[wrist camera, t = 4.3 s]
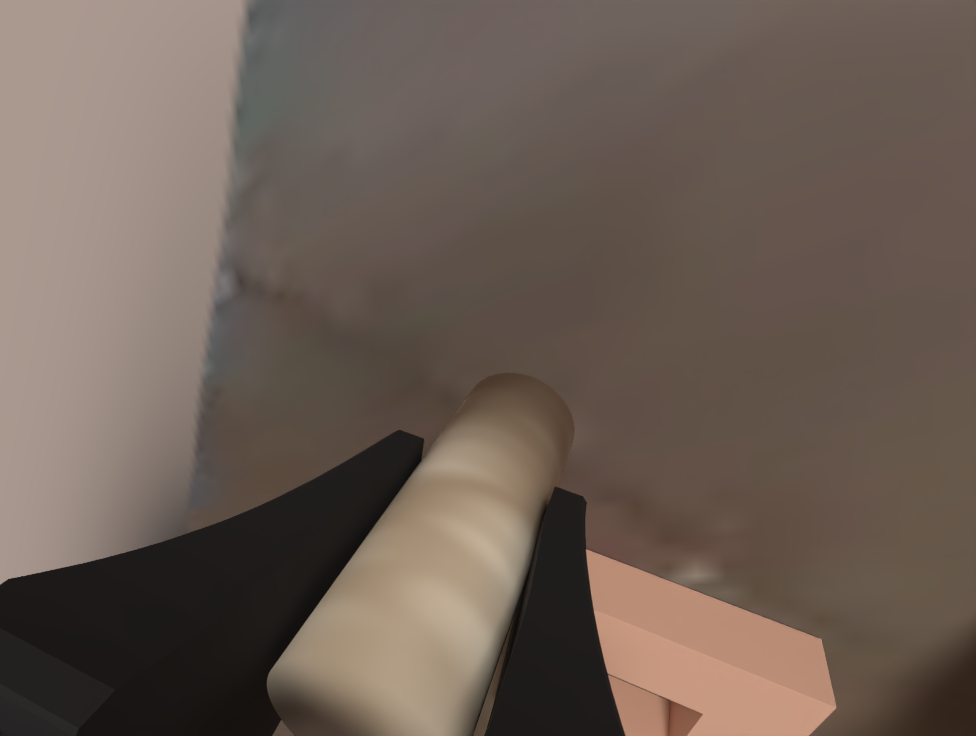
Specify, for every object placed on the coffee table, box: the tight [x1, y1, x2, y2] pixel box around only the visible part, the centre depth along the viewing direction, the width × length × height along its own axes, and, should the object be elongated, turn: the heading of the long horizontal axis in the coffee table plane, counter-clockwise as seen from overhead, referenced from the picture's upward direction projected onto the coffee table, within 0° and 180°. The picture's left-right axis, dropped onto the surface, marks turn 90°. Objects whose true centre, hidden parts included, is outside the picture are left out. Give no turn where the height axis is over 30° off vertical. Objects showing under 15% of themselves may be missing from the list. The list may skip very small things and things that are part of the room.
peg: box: [267, 373, 574, 736], centre depth 11 cm, size 3×3×8 cm
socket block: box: [586, 549, 836, 736], centre depth 26 cm, size 12×12×3 cm
